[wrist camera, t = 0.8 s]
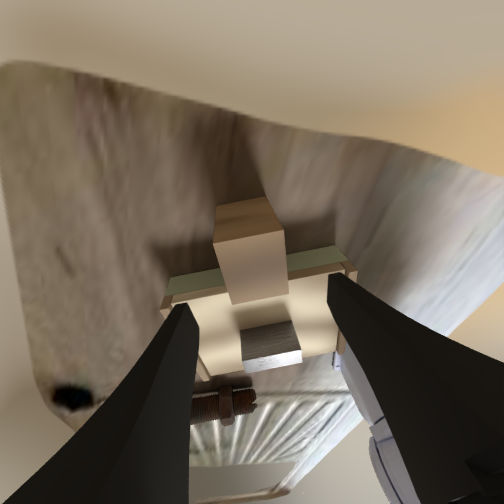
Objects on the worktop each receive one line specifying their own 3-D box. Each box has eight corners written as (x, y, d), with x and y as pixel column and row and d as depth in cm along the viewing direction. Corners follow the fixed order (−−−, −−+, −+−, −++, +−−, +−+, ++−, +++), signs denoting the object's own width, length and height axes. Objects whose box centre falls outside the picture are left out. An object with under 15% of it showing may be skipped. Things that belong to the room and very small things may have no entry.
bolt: (252, 376, 35) (162, 391, 34) (254, 378, 31) (149, 397, 29) (258, 418, 32) (160, 437, 31) (260, 428, 28) (146, 451, 27)
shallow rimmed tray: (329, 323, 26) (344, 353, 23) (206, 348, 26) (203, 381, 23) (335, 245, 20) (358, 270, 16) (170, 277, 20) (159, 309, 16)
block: (272, 248, 19) (289, 293, 14) (230, 256, 19) (232, 305, 14) (265, 195, 16) (283, 229, 11) (216, 205, 16) (212, 243, 11)
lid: (331, 343, 24) (348, 379, 21) (211, 367, 24) (209, 406, 21) (339, 262, 18) (366, 295, 14) (173, 294, 17) (161, 336, 14)
